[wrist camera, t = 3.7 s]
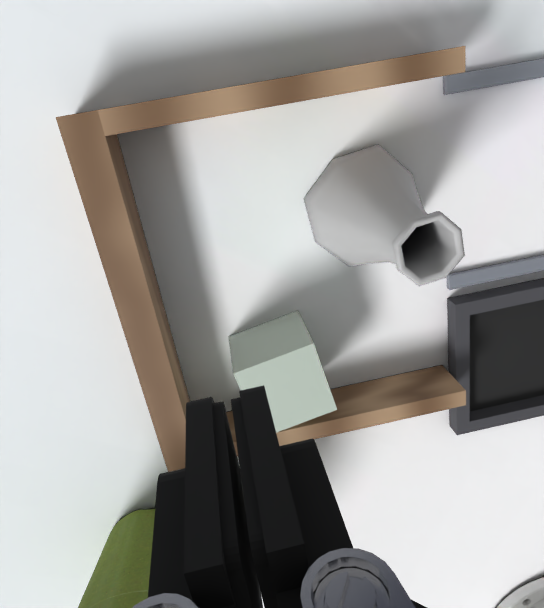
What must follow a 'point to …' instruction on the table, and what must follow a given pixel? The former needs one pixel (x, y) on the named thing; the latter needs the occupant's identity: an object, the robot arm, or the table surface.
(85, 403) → the table surface
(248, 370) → the grey green block
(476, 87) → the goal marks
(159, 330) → the wooden u-shaped frame
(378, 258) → the flask
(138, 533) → the plant pot
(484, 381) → the frame
